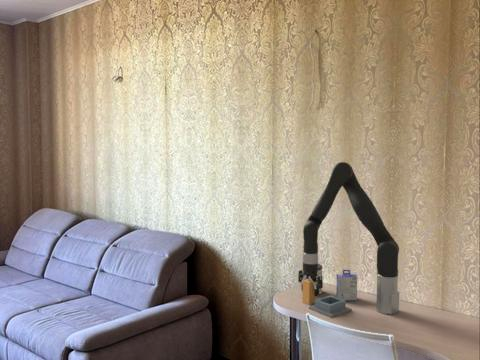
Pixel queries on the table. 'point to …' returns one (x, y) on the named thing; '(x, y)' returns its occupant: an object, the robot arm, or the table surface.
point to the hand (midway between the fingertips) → (310, 293)
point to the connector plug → (308, 292)
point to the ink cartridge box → (347, 286)
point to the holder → (330, 306)
